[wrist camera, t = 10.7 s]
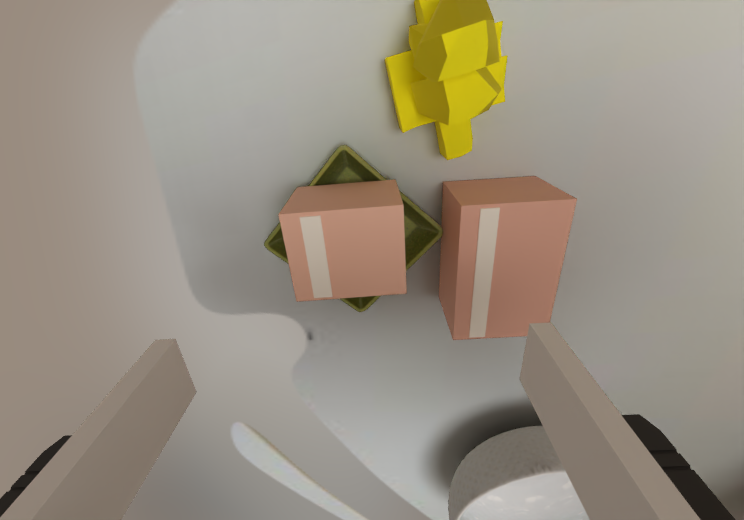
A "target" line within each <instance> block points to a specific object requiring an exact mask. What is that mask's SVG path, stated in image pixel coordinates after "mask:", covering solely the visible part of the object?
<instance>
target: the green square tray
mask: <svg viewBox="0 0 744 520" xmlns="http://www.w3.org/2000/svg"><path fill="white" fill-rule="evenodd" d="M381 180H386V179H385V178H384V177H383V176H382V175H381V174H380V173H378V172H377V171H376V170H375V169H374V168H373V167H371V166H370V165H369V164H368V163H367V162H366V161H365V160H363V159H362V158H361V157H360V156H359V155H358V154H357V153H355V152H354V151H353V150H352V149H351V148H350V147H348V146H347V145H342V146H340V147H338V148H337V150H336V151H335V152H334V153H333V155H332V156H331V157H330V159H329V160H328V161H327V162H326V164H325V165H324V167H323V168H322V169H321V170H320V172H319V173H318V174H317V175H316V177H315V178H314V179H313V181H312V182H311V183H310V185H309V186H318V185H331V184H344V183H356V182H369V181H381ZM399 192H400V191H399ZM400 195H401V198H402V202H403V205H404V232H405V261H406V271H407V270H408V269H409V268H410V267H411V266H412V265H413V264H414V263H415V262H416V261H417V260H418V259H419V258H420V257H421V256H422V255H423V254H424V253H426V252H427V250H429V249H430V248H431V247H432V246H433V245H434V244H435V243H436V242H437V241H438V240H439V239H440V238H441V237H442V235H443V229H442V227H441V226H440V225H439V224H437V223H436V222H435V221H434V220H433V219H432V218H430V217H429V216H428V215H427V214H426V213H425V212H424V211H422V210H421V209H420V208H419V207H418V206H417V205H415V204H414V203H413V202H412V201H411V200H410V199H408V198H407V197H406V196H405V195H404V194H403V193H401V192H400ZM264 246H265V247H266V248H267V249H268V250H269V251H270V252H272V253H273V254H275V255H276V256H278V257H279V258H281V259H282V260H283V261H285V262H286V263H288V258H287V253H286V248H285V244H284V239H283V234H282V229H281V224H280V223H279V224H278V225H277V226H276V228H275V229H274V230H273V232H272V233H271V234H270V235H269V237H268V238H267V239H266V241H265V243H264ZM288 264H289V263H288ZM379 297H380V296H367V297H353V298H339V299H341V300H342V301H343V302H345V303H346V304H348V305H349V306H351V307H352V308H354V309H355V310H357V311H358V312H363V311H365V310H366V309H368V308H369V307H370V306H371V305H372V304H373V303H374V302H375V301H376V300H377V299H378V298H379Z"/></svg>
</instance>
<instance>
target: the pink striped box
mask: <svg viewBox="0 0 744 520" xmlns="http://www.w3.org/2000/svg"><path fill="white" fill-rule="evenodd" d="M576 201H577V199H576V198H574V197H573V196H571V195H569V194H567V193H565V192H563V191H562V190H560V189H558V188H556V187H554V186H553V185H551V184H549V183H547V182H545V181H543V180H542V179H540V178H538V177H536V176H527V177H511V178H495V179H478V180H462V181H446V182H443V194H442V223H441V227H442V229H443V235H442V237H441V251H440V279H439V299H440V302H441V305H442V308H443V311H444V314H445V317H446V320H447V323H448V326H449V329H450V332H451V335H452V338H453V340H462V339H481V338H500V337H518V336H527V335H528V329H529V324H530V323H549V322H550V319H551V314H552V310H553V305H554V301H555V296H556V292H557V287H558V283H559V278H560V274H561V269H562V265H563V260H564V256H565V251H566V246H567V242H568V237H569V233H570V228H571V224H572V219H573V215H574V210H575V206H576Z"/></svg>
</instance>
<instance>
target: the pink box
mask: <svg viewBox="0 0 744 520" xmlns="http://www.w3.org/2000/svg"><path fill="white" fill-rule="evenodd" d="M278 215H279V220H280V224H281V229H282V234H283V239H284V244H285V248H286V253H287V258H288V263H289V267H290V272H291V277H292V282H293V287H294V291H295V296H296V301H297V302H298V301H312V300H326V299H339V298H353V297H367V296H381V295H395V294H407V289H406V261H405V232H404V205H403V202H402V198H401V195H400V192H399V189H398V186H397V183H396V180H395V179H394V180H381V181H369V182H356V183H344V184H331V185H318V186H306V187H297V188H296V190H295V191H294V192H293V194H292V195H291V197H290V198H289V200H288V201H287V203H286V204H285V206H284V207H283V209H282V210H281V211H280V213H279V214H278Z"/></svg>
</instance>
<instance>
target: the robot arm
mask: <svg viewBox="0 0 744 520" xmlns="http://www.w3.org/2000/svg"><path fill="white" fill-rule="evenodd" d="M520 381H521V383H522V385H523V387H524V389H525V391H526V393H527V395H528V397H529V399H530V401H531V403H532V405H533V407H534V409H535V411H536V413H537V415H538V417H539V419H540V421H541V423H542V425H543V427H544V429H545V431H546V433H547V435H548V437H549V439H550V441H551V443H552V445H553V447H554V449H555V451H556V453H557V455H558V457H559V459H560V461H561V463H562V465H563V467H564V469H565V471H566V473H567V475H568V477H569V479H570V481H571V483H572V485H573V487H574V489H575V491H576V493H577V495H578V497H579V499H580V501H581V503H582V505H583V507H584V509H585V511H586V513H587V515H588V517H589V519H590V520H735V519H734V518H733V516H732V515H731V514H730V513H729V512H728V510H727V509H726V508H725V507H724V506H723V505H722V503H721V502H720V501H719V500H718V499H717V497H716V496H715V495H714V494H713V493H712V491H711V490H710V489H709V488H708V487H707V485H706V484H705V483H704V482H703V481H702V479H701V478H700V477H699V476H698V475H697V474H696V472H695V471H694V470H691V468H690V465H689V464H688V463H687V462H686V460H685V459H684V458H683V457H682V456H681V454H678V453H677V451H676V449H675V447H674V446H673V445H672V444H671V443H670V441H669V440H668V439H667V438H666V437H665V435H664V434H663V433H662V432H661V431H660V430H659V429H658V428H656V427H655V426H654V425H652V424H651V423H650V422H649V421H647V420H646V419H645V418H643V417H642V416H641V415H621V414H620V413H619V412H618V410H617V409H616V408H615V406H614V405H613V404H612V402H611V401H610V400H609V398H608V397H607V396H606V394H605V393H604V392H603V390H602V389H601V388H600V386H599V385H598V384H597V382H596V381H595V380H594V379H593V377H592V376H591V375H590V373H589V372H588V371H587V369H586V368H585V367H584V365H583V364H582V363H581V361H580V360H579V359H578V357H577V356H576V355H575V353H574V352H573V351H572V350H571V348H570V347H569V346H568V344H567V343H566V342H565V340H564V339H563V338H562V336H561V335H560V334H559V332H558V331H557V330H556V328H555V327H554V326H553V324H552V323H551V322H549V323H530V324H529V329H528V335H527V340H526V346H525V352H524V357H523V363H522V368H521V374H520ZM195 394H196V389H195V387H194V384H193V382H192V380H191V377H190V374H189V372H188V369H187V367H186V364H185V362H184V360H183V357H182V354H181V352H180V349H179V347H178V344H177V342H176V339H165V340H155V341H154V342H153V343H152V344H151V346H150V347H149V348H148V349H147V350H146V351H145V352H144V354H143V355H142V356H141V357H140V358H139V360H138V361H137V362H136V363H135V364H134V365H133V366H132V367H131V368H130V370H129V371H128V372H127V373H126V374H125V375H124V377H123V378H122V379H121V380H120V381H119V382H118V383H117V384H116V386H115V387H114V388H113V389H112V390H111V391H110V392H109V394H108V395H107V396H106V397H105V398H104V399H103V400H102V402H101V403H100V404H99V405H98V406H97V408H96V409H95V410H94V411H93V412H92V413H91V414H90V415H89V417H88V418H87V419H86V420H85V421H84V422H83V423H82V424H81V426H80V427H79V428H78V429H77V430H76V431H75V432H74V434H73V435H71V436H63V437H62V438H61V439H60V440H58V441H57V442H56V443H54V444H53V445H52V446H50V447H49V448H48V449H47V450H45V451H44V452H43V453H42V454H41V455H40V456H39V457H38V458H37V459H36V460H35V461H34V463H33V464H32V465H31V466H30V467H29V468H28V469H27V470H26V471H25V472H26V473H25V475H22V476H21V477H20V478H19V479H18V480H17V481H16V483H14V485H13V486H12V487H11V490H10V491H9V492H6V493H5V494H4V495H3V496H2V498H1V499H0V520H121V519H122V518H123V516H124V515H125V513H126V511H127V509H128V508H129V506H130V504H131V503H132V501H133V499H134V498H135V496H136V494H137V492H138V491H139V489H140V487H141V486H142V484H143V482H144V481H145V479H146V477H147V475H148V474H149V472H150V470H151V469H152V467H153V465H154V464H155V462H156V460H157V458H158V457H159V455H160V453H161V452H162V450H163V448H164V447H165V445H166V443H167V441H168V440H169V438H170V436H171V435H172V433H173V431H174V430H175V428H176V426H177V424H178V422H179V421H180V419H181V417H182V416H183V414H184V413H185V411H186V409H187V407H188V406H189V404H190V402H191V401H192V399H193V397H194V395H195Z"/></svg>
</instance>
